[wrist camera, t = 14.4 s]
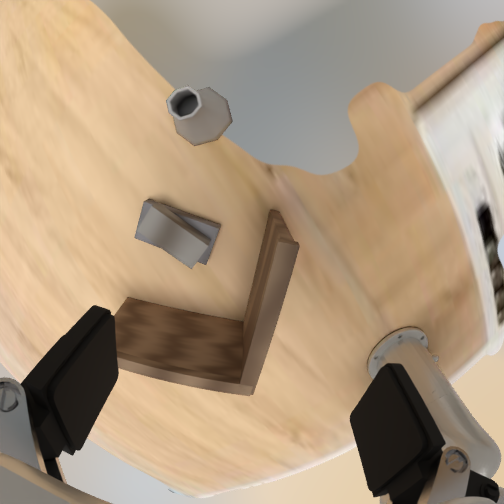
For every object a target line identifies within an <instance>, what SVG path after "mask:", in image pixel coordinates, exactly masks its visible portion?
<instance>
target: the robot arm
mask: <svg viewBox="0 0 504 504" xmlns="http://www.w3.org/2000/svg"><path fill="white" fill-rule="evenodd" d="M427 348H428V339H427V337H426V335H425V334H424V332H423V331H422V330H420V329H418V328H414V327H408V328H403V329H400V330H398V331H395V332H393V333H392V334H390V335H388V336H387V337H386V338H384V339H383V340H382V341H381V342H380V343H379V344H378V345H377V346H376V347H375V349H374V350H373V351H372V353H371V355H370V357H369V359H368V364H367V369H368V372H369V374H370V376H371V378H373V379H374V380H373V381H372V383H371V384H370V386H369V387H368V389H367V391H366V392H365V394H364V395H363V397H362V398H361V400H360V401H359V403H358V404H357V406H356V407H355V408H354V410H353V411H352V413H351V415H350V423H351V427H352V430H353V433H354V437H355V440H356V444H357V447H358V451H359V455H360V458H361V462H362V466H363V470H364V473H365V477H366V481H367V485H368V488H369V490H370V491H372V493H373V497H378V496H380V504H504V488H502V487H498V485H497V483H495V481H493V480H492V479H491V478H492V477H493V476H494V474H495V473H496V471H497V470H498V468H499V465H500V462H501V453H500V450H499V448H498V446H497V444H496V443H495V442H494V440H493V439H492V438H491V437H490V436H489V435H488V434H487V433H486V431H485V430H484V429H483V428H482V427H481V426H480V425H479V424H478V422H477V421H476V420H475V418H474V417H473V416H472V414H471V413H470V412H469V410H468V409H467V407H466V406H465V405H464V403H463V402H462V400H461V399H460V397H459V396H458V394H457V393H456V392H455V390H454V388H453V387H452V386H451V384H450V383H449V381H448V380H447V378H446V377H445V375H444V374H443V373H442V371H441V370H440V368H439V367H438V366H437V364H436V363H435V362H437V361H438V359H439V357H438V355H431V354H430V353H429V351H428V350H427ZM118 374H119V372H118V361H117V348H116V332H115V317H114V316H113V315H111V312H110V310H108V309H105V308H102V307H99V306H96V305H94V306H92V307H91V308H90V309H89V310H88V311H87V312H86V313H85V314H84V315H83V316H82V317H81V318H80V320H79V321H78V322H77V323H76V324H75V325H74V326H73V327H72V328H71V329H70V330H69V331H68V332H67V333H66V334H65V335H63V336H62V337H61V338H60V339H59V340H58V341H57V342H56V343H55V345H54V346H53V347H52V348H51V349H50V350H49V351H48V352H47V354H46V355H45V356H44V357H43V358H42V359H41V360H40V362H39V363H38V364H37V365H36V366H35V367H34V369H33V370H32V371H31V372H30V373H29V374H28V376H27V377H26V378H25V379H24V380H23V382H22V383H21V384H20V383H18V382H17V381H16V380H14V379H11V378H0V504H111V503H109V502H106V501H104V500H101V499H99V498H96V497H94V496H92V495H89V494H87V493H85V492H82V491H80V490H78V489H76V488H74V487H72V486H70V485H68V484H67V482H66V479H65V477H64V474H63V471H62V468H61V465H60V462H59V459H58V457H59V456H60V454H61V452H62V450H63V451H65V452H67V453H69V454H70V455H74V453H75V451H76V450H81V448H82V447H83V445H84V443H85V440H86V439H87V437H88V435H89V433H90V431H91V429H92V427H93V425H94V423H95V421H96V419H97V417H98V415H99V413H100V411H101V409H102V407H103V406H104V404H105V402H106V400H107V398H108V396H109V394H110V392H111V391H112V389H113V387H114V385H115V383H116V381H117V379H118Z"/></svg>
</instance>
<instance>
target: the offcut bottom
mask: <svg viewBox="0 0 504 504" xmlns="http://www.w3.org/2000/svg"><path fill="white" fill-rule="evenodd" d="M156 203H157V202H156V201H154V200H151V199H148V200H146V201H144V203H143V207H142V211H141V214H140V218H139V222H138V226H137V230H138V228H139V226H140V225H141V223H142V221H143V219H144V218H145V216H146V214H147V213H148V211H149V209H150V208H151V206H152V205H154V204H156ZM160 204H161V205H163V206H164V207H166V208H167V209H168V210H170V211H171V212H173V213H174V214H175V215H177V216H178V217H180V218H181V219H183V220H184V221H185V222H187V223H188V224H190V225H191V226H192V227H194V228H195V229H197V230H198V231H200V232H201V233H202V234H204V235H205V236H207V237H208V238H209V239H211V241H210V243H209V246H208V247H207V249H206V250H205V251H204V253H203V254H202V255H201V257H200V258H199V260H198V261H197V262H199V263H202V264H205V265H206V264H207V261H208V259H209V256H210V253H211V250H212V248H213V245H214V242H215V239H216V237H217V234H218V231H219V229H220V226H221V225H219V224H216V223H214V222H211V221H208V220H206V219H203V218H200V217H198V216H195V215H192V214H189V213H187V212H184V211H181V210H178V209H176V208H173V207H170V206H167V205H165V204H162V203H160ZM137 230H136V234H135V238H136V239H138V240H141V241H144V242H146V243H149V244H151V245H154V246H157V247H159V246H158V245H156V244H155V243H153V242H152V241H151V240H149V239H148V238H146V237H145V236H144V235H142V234H141V233H139V232H138V231H137ZM159 248H160V247H159Z"/></svg>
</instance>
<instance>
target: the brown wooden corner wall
mask: <svg viewBox="0 0 504 504" xmlns="http://www.w3.org/2000/svg"><path fill="white" fill-rule="evenodd" d="M298 250H299V244H298V242H295V241H294V240H293V238H292V236H291V234H290V232H289V230H288V228H287V226H286V224H285V222H284V220H283V218H282V216H281V214H280V212H278V211H274V210H270V212H269V217H268V221H267V225H266V229H265V234H264V238H263V242H262V246H261V251H260V255H259V259H258V263H257V268H256V272H255V276H254V280H253V284H252V288H251V293H250V297H249V301H248V305H247V309H246V313H245V318H244V322H242V321H236V320H230V319H225V318H219V317H214V316H209V315H204V314H199V313H194V312H189V311H185V310H180V309H175V308H171V307H166V306H162V305H158V304H153V303H149V302H145V301H141V300H137V299H133V298H129V297H128V298H127V299H126V300H125V302H124V303H123V304H122V306H121V307H120V308H119V310H118V311H117V313H116V314H115V315H114V317H115V332H116V348H117V361H118V368H120V369H123V370H127V371H130V372H133V373H137V374H141V375H144V376H148V377H152V378H156V379H160V380H164V381H168V382H172V383H177V384H181V385H186V386H191V387H196V388H201V389H207V390H212V391H218V392H224V393H231V394H238V395H245V396H250V395H253V393H254V391H255V388H256V385H257V382H258V379H259V376H260V373H261V370H262V367H263V364H264V361H265V358H266V355H267V352H268V349H269V346H270V343H271V340H272V337H273V334H274V330H275V327H276V324H277V321H278V318H279V315H280V311H281V308H282V305H283V301H284V298H285V295H286V291H287V288H288V285H289V281H290V278H291V275H292V271H293V268H294V264H295V261H296V257H297V254H298Z"/></svg>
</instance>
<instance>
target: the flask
mask: <svg viewBox="0 0 504 504" xmlns="http://www.w3.org/2000/svg"><path fill="white" fill-rule="evenodd" d="M166 103H167V107H168V111H169V114H171V115H172V116H173V119H174V123H175V127H176V131H177V133H178V134H179V135H181V136H182V137H183V138H185V139H186V140H187V141H189V142H190V143H191V144H192V145H194V146H196V145H200V144H203V143H207V142H211V141H214V140H218V138H219V137H220V136H221V135H222V134H223V132H224V131H225V130H226V129H227V128H228V126H229V125H230V124H231V123H232V117H231V113H230V109H229V105H228V102H227V100H226V99H225V98H223V97H222V96H221V95H219V94H218V93H217V92H215V91H214V90H212V89H211V88H210V87H208V88H204V89H201V90H197V91H196V90H195V89H193V88H192V87H190V86H189V85H188V86H185V87H182V88H179V89H176V90H174V91H173V93H172V94H171V95H170V96H169V98H168V99H167V100H166Z"/></svg>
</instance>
